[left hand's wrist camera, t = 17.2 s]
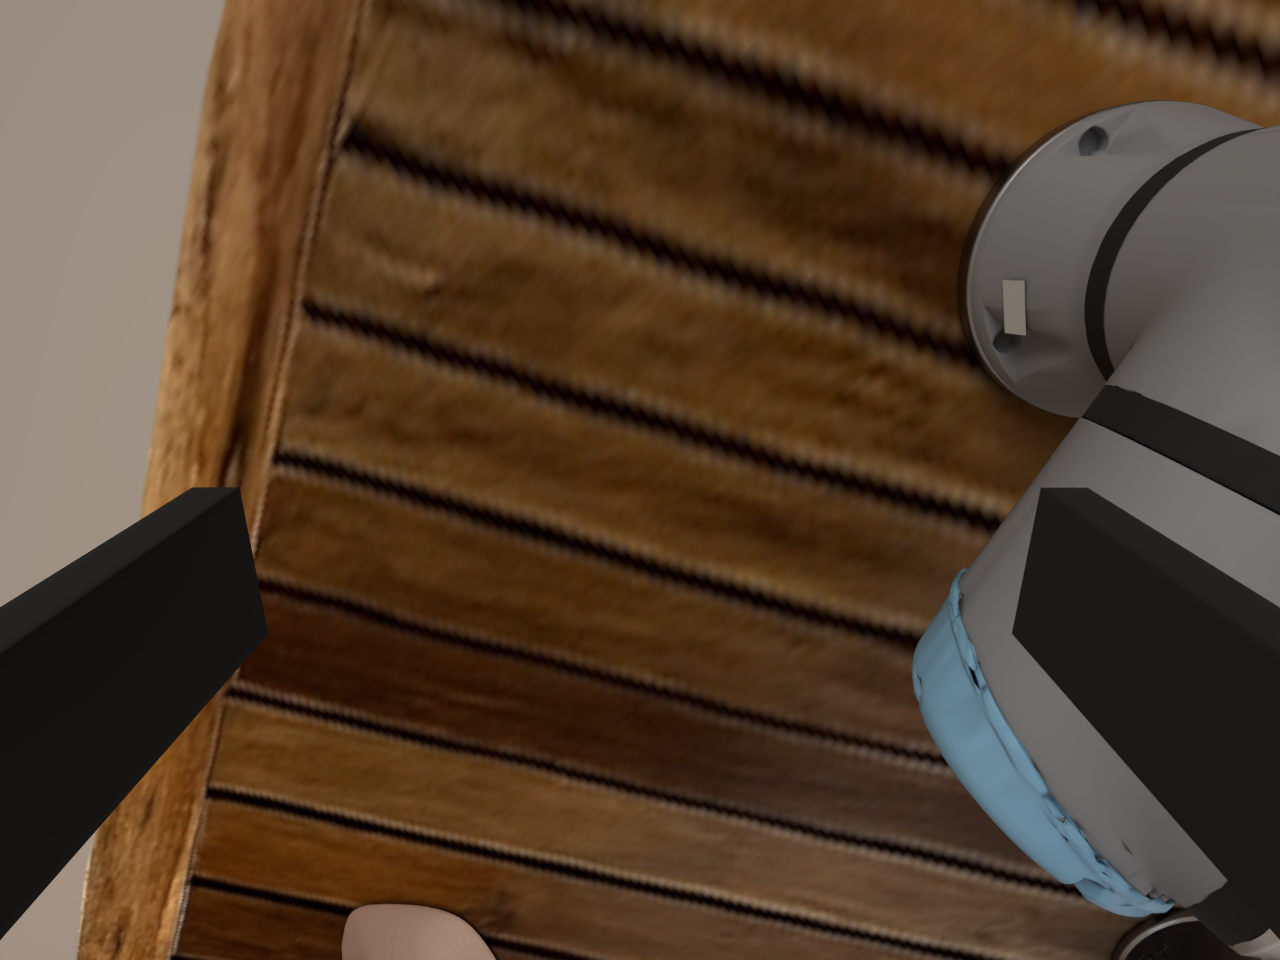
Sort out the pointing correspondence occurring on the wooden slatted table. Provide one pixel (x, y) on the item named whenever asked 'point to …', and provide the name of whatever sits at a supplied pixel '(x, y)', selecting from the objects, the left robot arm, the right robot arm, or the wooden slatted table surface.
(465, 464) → the wooden slatted table surface
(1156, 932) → the right robot arm
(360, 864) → the wooden slatted table surface
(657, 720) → the wooden slatted table surface
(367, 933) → the anatomical model
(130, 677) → the left robot arm
